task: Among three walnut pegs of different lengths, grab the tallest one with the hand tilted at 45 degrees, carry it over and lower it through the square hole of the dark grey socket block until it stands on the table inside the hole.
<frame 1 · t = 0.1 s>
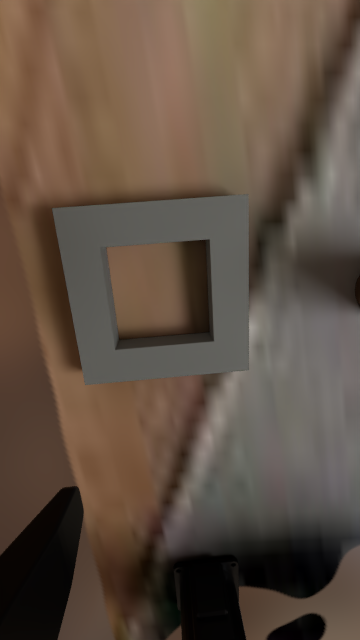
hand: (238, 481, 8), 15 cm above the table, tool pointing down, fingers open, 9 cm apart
socket block: (160, 291, 21), on the table
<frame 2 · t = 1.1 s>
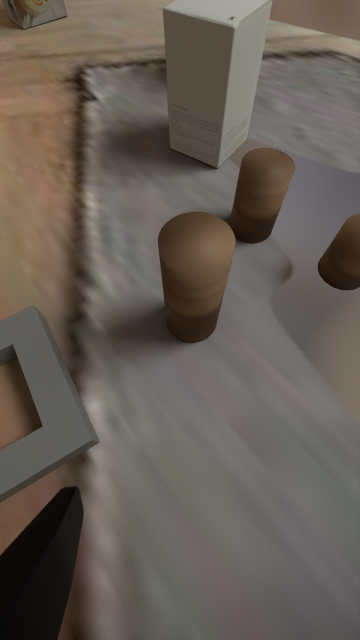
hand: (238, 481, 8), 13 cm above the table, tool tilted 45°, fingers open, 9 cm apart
medium walnut peg: (250, 226, 30), on the table
short walnut peg: (341, 270, 28), on the table
tall walnut peg: (191, 319, 25), on the table
supplement box: (208, 145, 37), on the table
coffee box: (39, 19, 54), on the table
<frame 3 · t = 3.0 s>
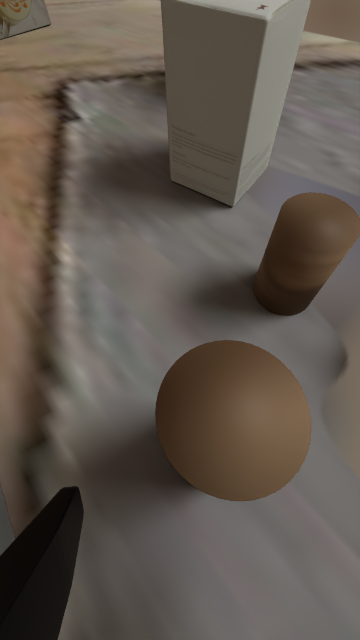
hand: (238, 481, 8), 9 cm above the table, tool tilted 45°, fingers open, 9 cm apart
medium walnut peg: (282, 290, 22), on the table
tall walnut peg: (207, 444, 17), on the table
supplement box: (218, 175, 29), on the table
coffee box: (18, 28, 47), on the table
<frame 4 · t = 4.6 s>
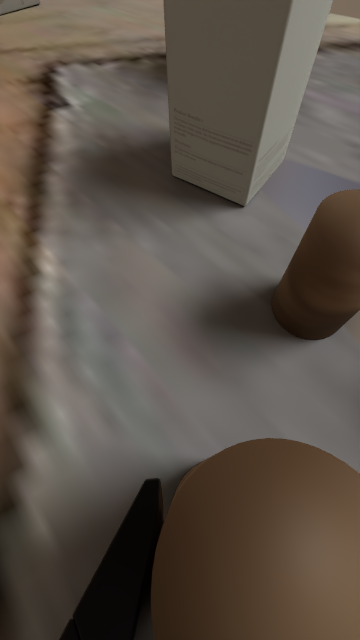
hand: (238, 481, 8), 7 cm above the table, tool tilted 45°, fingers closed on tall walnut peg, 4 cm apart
medium walnut peg: (306, 308, 18), on the table
tall walnut peg: (219, 512, 13), on the table, touching gripper
supplement box: (227, 170, 25), on the table
coffee box: (4, 8, 43), on the table
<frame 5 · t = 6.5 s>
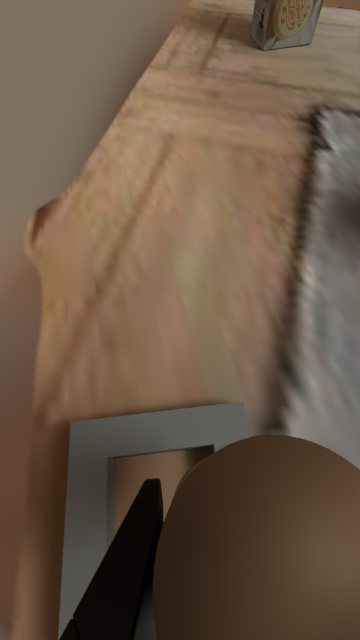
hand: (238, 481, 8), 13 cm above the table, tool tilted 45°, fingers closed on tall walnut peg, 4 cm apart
tall walnut peg: (220, 510, 13), point 7 cm above the table, touching gripper
coffee box: (279, 42, 51), on the table
socket block: (167, 510, 19), on the table
when the fingers open (7 cm above the table, at t = 8.5 s): tall walnut peg stays where it is, resting in socket block.
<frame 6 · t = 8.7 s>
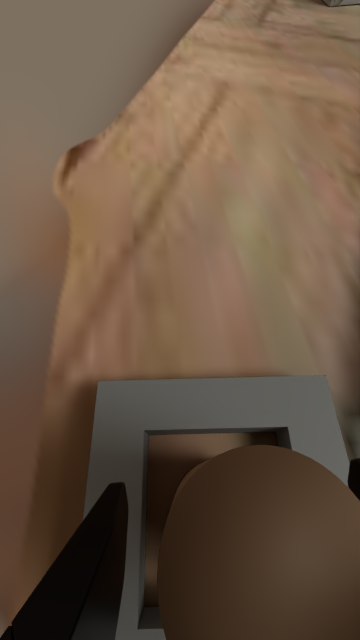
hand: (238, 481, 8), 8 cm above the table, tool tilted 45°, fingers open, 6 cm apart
tall walnut peg: (217, 510, 14), resting in socket block
socket block: (217, 509, 14), on the table
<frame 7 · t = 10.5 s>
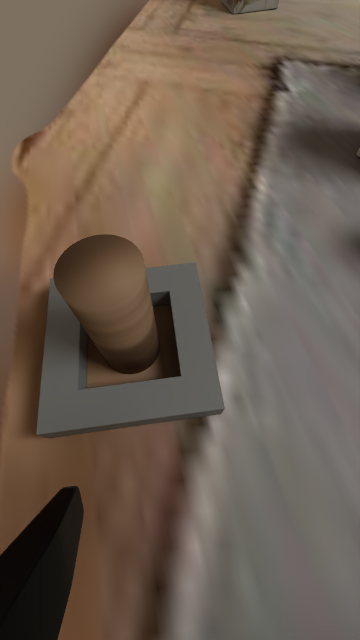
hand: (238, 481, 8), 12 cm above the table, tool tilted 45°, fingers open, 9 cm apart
tall walnut peg: (131, 347, 23), resting in socket block
coffee box: (248, 7, 55), on the table
socket block: (131, 346, 23), on the table
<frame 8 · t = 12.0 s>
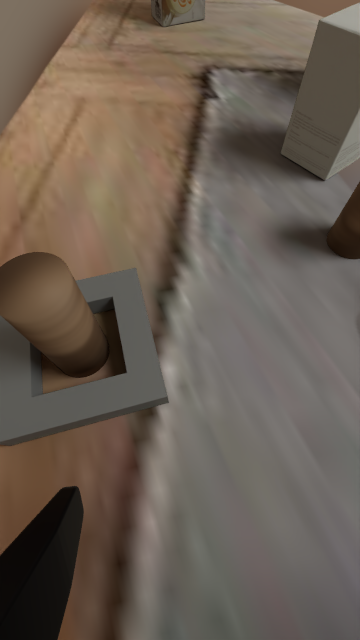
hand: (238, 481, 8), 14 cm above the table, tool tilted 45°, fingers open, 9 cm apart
medium walnut peg: (348, 242, 30), on the table
tall walnut peg: (83, 352, 25), resting in socket block
supplement box: (318, 157, 37), on the table
coffee box: (177, 19, 58), on the table
socket block: (83, 351, 25), on the table
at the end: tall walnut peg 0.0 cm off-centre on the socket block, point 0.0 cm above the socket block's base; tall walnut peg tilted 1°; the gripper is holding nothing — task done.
